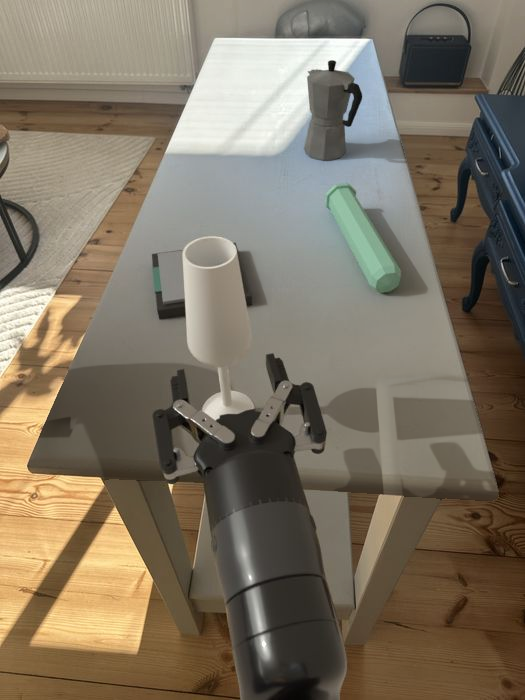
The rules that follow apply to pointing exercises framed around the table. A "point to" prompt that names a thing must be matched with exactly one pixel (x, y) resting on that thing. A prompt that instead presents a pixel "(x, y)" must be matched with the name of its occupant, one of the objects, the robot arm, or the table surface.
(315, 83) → the coffeepot
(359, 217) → the container
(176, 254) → the scale
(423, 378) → the table surface
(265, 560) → the robot arm
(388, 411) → the table surface
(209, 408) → the champagne flute
